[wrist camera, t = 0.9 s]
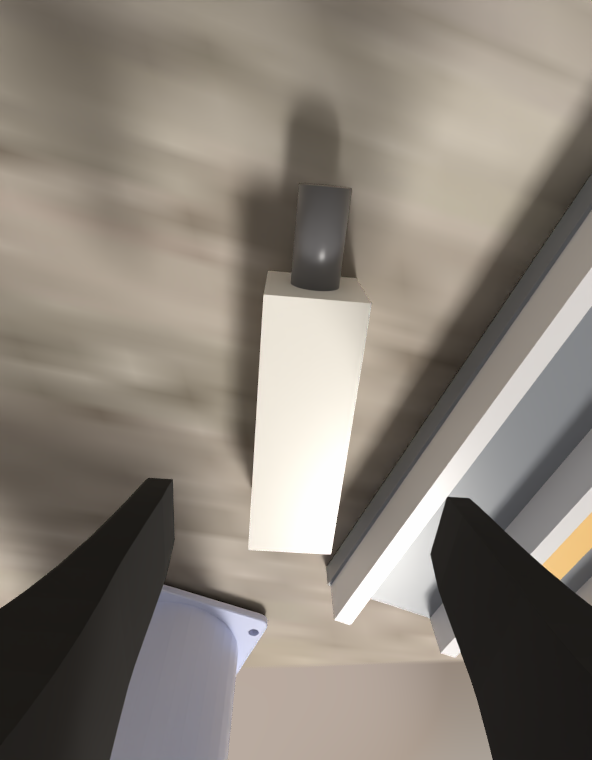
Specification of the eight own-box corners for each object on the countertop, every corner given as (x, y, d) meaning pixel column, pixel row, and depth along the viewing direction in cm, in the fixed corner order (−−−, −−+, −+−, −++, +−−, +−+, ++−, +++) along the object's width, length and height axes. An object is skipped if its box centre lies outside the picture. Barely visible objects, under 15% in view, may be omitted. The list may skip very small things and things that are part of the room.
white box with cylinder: (324, 495, 21) (331, 554, 18) (254, 491, 21) (248, 550, 18) (368, 188, 16) (389, 194, 12) (274, 178, 15) (270, 183, 12)
